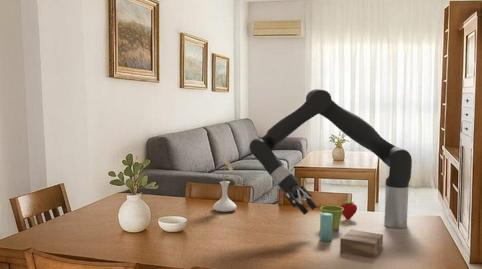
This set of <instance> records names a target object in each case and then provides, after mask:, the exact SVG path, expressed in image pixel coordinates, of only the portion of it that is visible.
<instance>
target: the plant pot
mask: <svg viewBox="0 0 482 269" xmlns="http://www.w3.org/2000/svg"><path fill="white" fill-rule="evenodd" d="M320 210H321V213H330V214H332V215H333V218H332V232H333V231H334V232H335V231H337V230H338V231H339V229H340V225H341V219H342V215H343V214H342V212H343V210H344V209H343V208H342V207H340V206H338V205H323V206H320Z"/></svg>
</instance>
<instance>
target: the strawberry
mask: <svg viewBox="0 0 482 269" xmlns="http://www.w3.org/2000/svg"><path fill="white" fill-rule="evenodd" d="M339 207H342V208H343V209H344V210H343V212H342V214H341V215H342V216H343V217H344V218H345V219H346V220H347V221H348V220H350V219H351V218H352V217H353V216H354V215H355V214H356V213H357V210H358V206H357V204H355V202H354V201H349V198H347V199H346V201H342V203H341V205H340V206H339Z"/></svg>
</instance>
